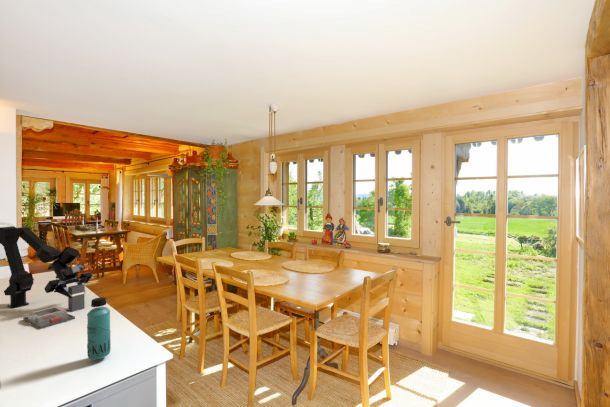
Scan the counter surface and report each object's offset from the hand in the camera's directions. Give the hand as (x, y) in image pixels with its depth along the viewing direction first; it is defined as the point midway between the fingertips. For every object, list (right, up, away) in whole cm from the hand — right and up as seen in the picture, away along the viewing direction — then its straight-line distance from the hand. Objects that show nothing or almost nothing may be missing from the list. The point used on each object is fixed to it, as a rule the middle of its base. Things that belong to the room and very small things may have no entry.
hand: (78, 295), depth 146 cm
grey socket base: (-4, -7, -12) cm, 14 cm away
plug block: (-1, -7, +1) cm, 7 cm away
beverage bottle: (+40, -7, -45) cm, 61 cm away
